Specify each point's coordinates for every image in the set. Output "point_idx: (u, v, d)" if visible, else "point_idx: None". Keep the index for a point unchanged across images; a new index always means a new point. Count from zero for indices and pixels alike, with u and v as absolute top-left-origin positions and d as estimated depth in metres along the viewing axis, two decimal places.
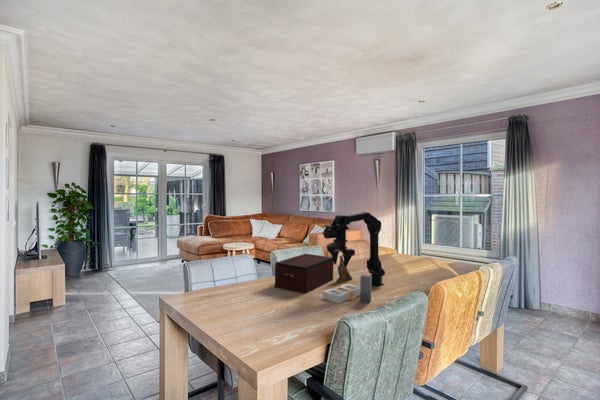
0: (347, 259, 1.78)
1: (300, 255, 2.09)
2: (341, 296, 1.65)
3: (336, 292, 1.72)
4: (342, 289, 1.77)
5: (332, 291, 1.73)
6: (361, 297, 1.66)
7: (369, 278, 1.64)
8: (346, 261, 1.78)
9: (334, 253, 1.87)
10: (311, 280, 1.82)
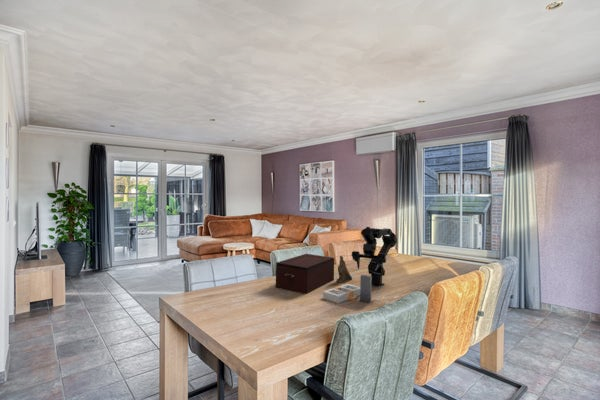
0: (378, 264, 1.79)
1: (301, 255, 2.09)
2: (341, 296, 1.65)
3: (336, 292, 1.72)
4: (342, 289, 1.77)
5: (332, 291, 1.73)
6: (361, 297, 1.66)
7: (369, 278, 1.64)
8: (377, 265, 1.78)
9: (359, 259, 1.84)
10: (312, 280, 1.82)
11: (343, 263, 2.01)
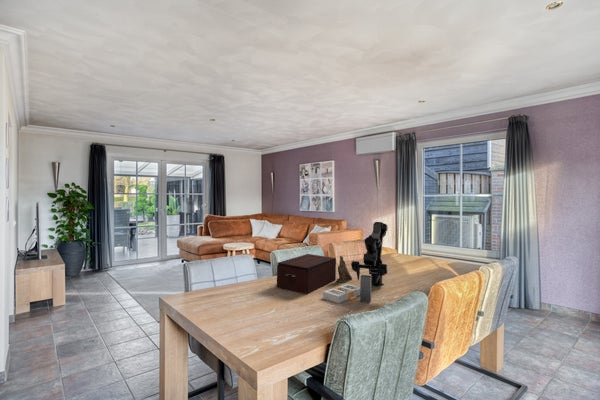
0: (379, 275, 1.70)
1: (302, 255, 2.09)
2: (341, 296, 1.65)
3: (336, 292, 1.72)
4: (342, 289, 1.77)
5: (332, 291, 1.73)
6: (361, 297, 1.66)
7: (369, 278, 1.64)
8: (378, 276, 1.68)
9: (359, 270, 1.74)
10: (313, 280, 1.82)
11: (343, 263, 2.01)
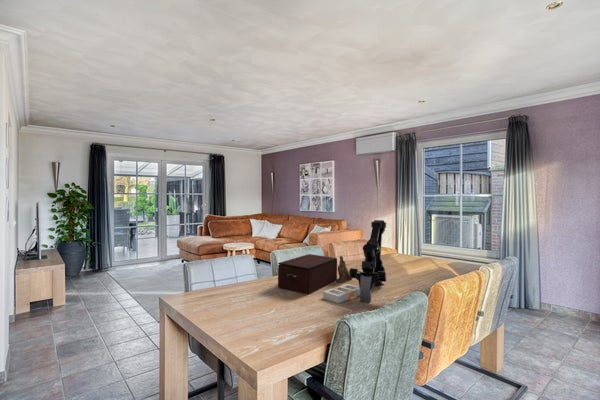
0: (374, 283, 1.67)
1: (304, 255, 2.08)
2: (341, 296, 1.65)
3: (336, 292, 1.72)
4: (342, 289, 1.77)
5: (332, 291, 1.73)
6: (361, 297, 1.66)
7: (369, 278, 1.64)
8: (373, 283, 1.66)
9: None
10: (314, 281, 1.81)
11: (343, 263, 2.01)
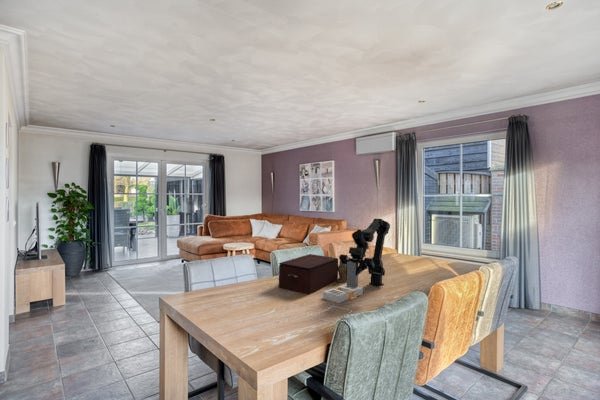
0: (361, 269, 1.69)
1: None
2: (341, 296, 1.65)
3: (336, 292, 1.72)
4: (342, 289, 1.77)
5: (332, 291, 1.73)
6: (347, 282, 1.70)
7: (355, 264, 1.68)
8: (359, 269, 1.69)
9: None
10: (315, 281, 1.81)
11: None
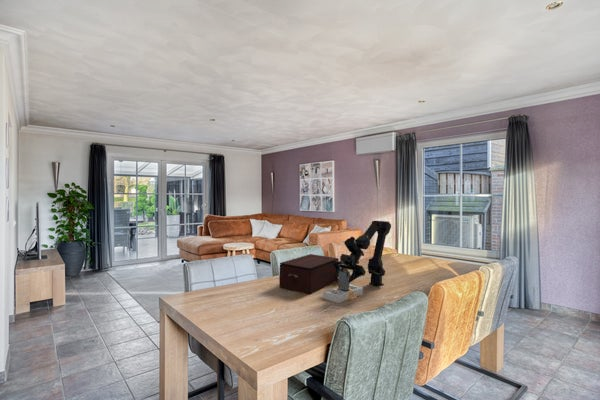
0: (354, 276, 1.71)
1: None
2: (341, 296, 1.65)
3: (336, 292, 1.72)
4: None
5: (332, 291, 1.73)
6: None
7: (345, 274, 1.72)
8: (352, 277, 1.71)
9: (339, 269, 1.79)
10: (316, 281, 1.81)
11: (343, 263, 2.01)
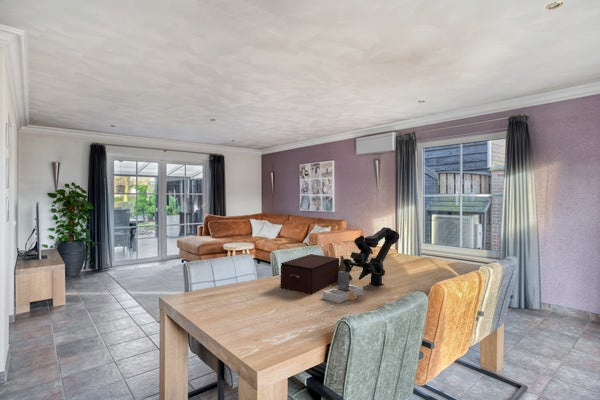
0: (364, 273, 1.78)
1: None
2: (341, 296, 1.65)
3: (336, 292, 1.72)
4: None
5: (332, 291, 1.73)
6: None
7: (345, 274, 1.72)
8: (362, 274, 1.77)
9: (349, 267, 1.86)
10: (317, 281, 1.81)
11: None
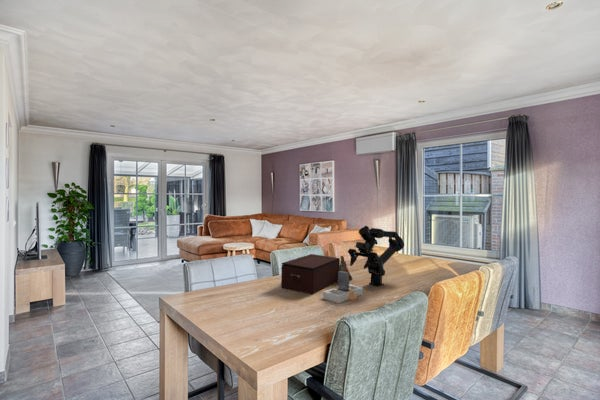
0: (369, 262, 1.82)
1: None
2: (341, 296, 1.65)
3: (336, 292, 1.72)
4: None
5: (332, 291, 1.73)
6: None
7: (345, 274, 1.72)
8: (367, 263, 1.81)
9: (354, 257, 1.90)
10: (318, 281, 1.81)
11: (344, 263, 2.01)
